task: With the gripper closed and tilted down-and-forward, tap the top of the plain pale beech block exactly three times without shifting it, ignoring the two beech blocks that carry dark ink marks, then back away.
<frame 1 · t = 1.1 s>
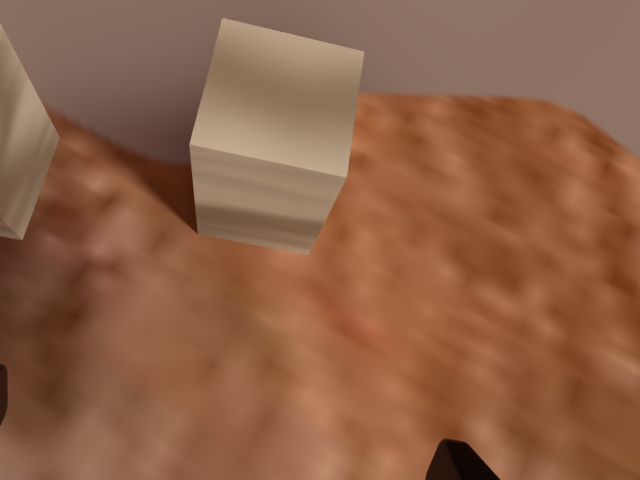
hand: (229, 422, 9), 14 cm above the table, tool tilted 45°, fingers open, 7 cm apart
plain block: (263, 194, 26), on the table
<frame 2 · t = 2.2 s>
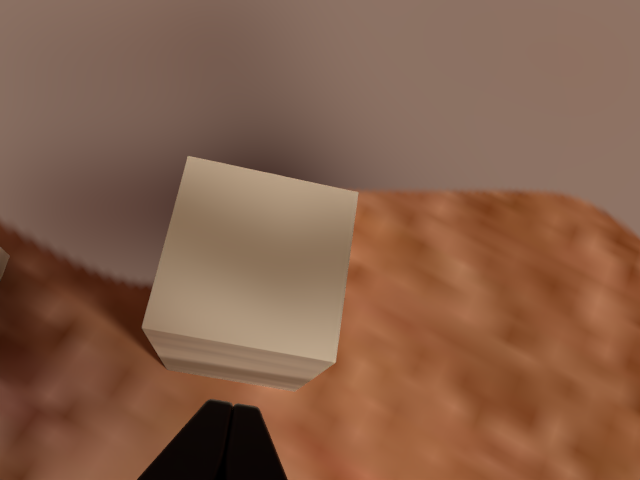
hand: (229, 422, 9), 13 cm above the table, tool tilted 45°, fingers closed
plain block: (244, 318, 22), on the table
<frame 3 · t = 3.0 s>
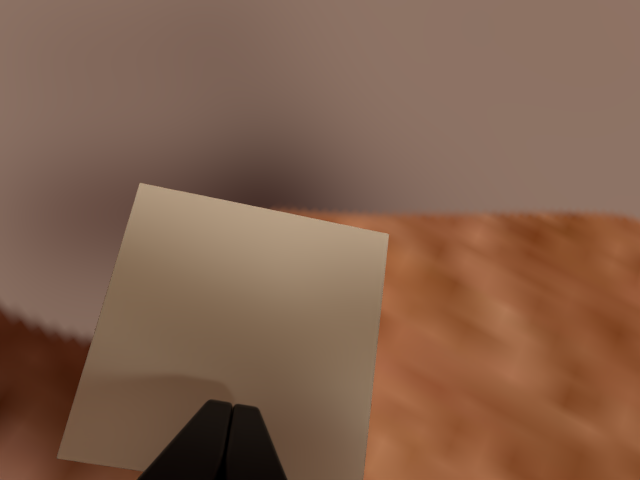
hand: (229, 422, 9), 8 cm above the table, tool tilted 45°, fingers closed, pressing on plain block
plain block: (230, 383, 17), on the table, touching gripper
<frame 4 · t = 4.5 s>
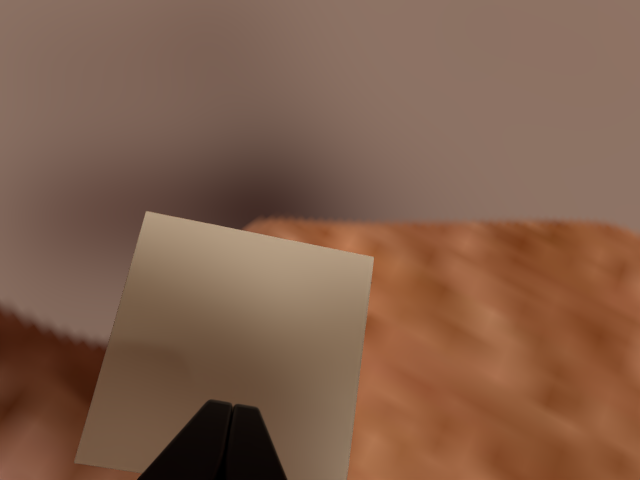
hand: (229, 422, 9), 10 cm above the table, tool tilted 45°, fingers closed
plain block: (230, 384, 19), on the table
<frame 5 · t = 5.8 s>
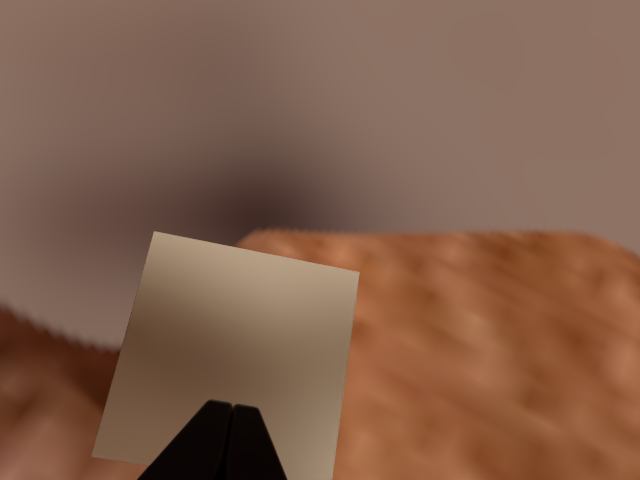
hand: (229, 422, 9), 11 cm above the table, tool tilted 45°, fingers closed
plain block: (230, 385, 20), on the table
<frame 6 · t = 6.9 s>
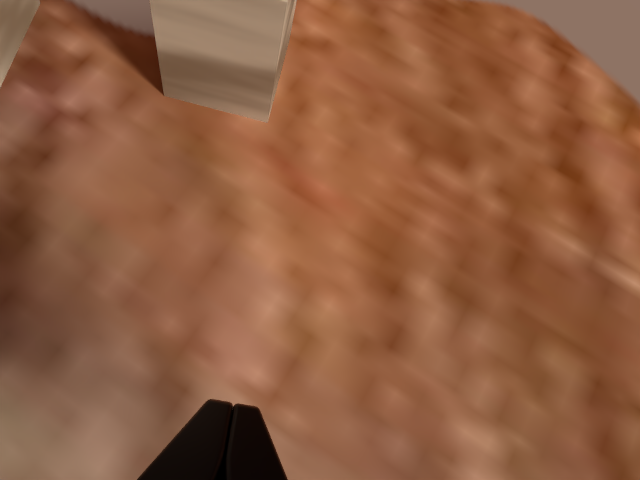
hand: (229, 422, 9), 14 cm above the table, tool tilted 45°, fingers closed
plain block: (229, 67, 27), on the table
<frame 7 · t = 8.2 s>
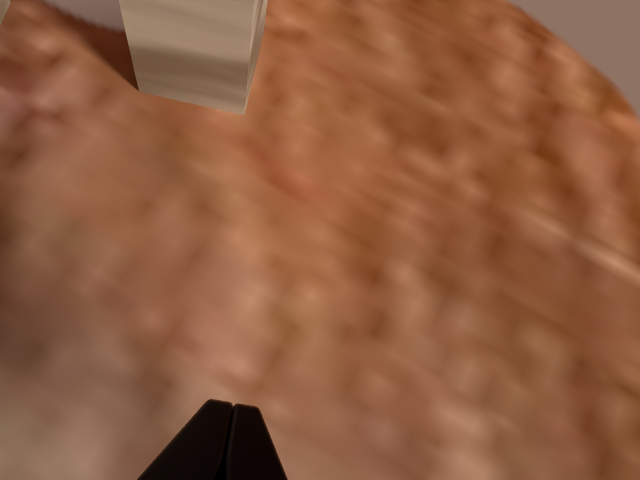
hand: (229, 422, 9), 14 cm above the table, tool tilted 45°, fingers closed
plain block: (204, 61, 27), on the table
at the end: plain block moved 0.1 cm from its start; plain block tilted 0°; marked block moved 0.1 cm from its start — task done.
